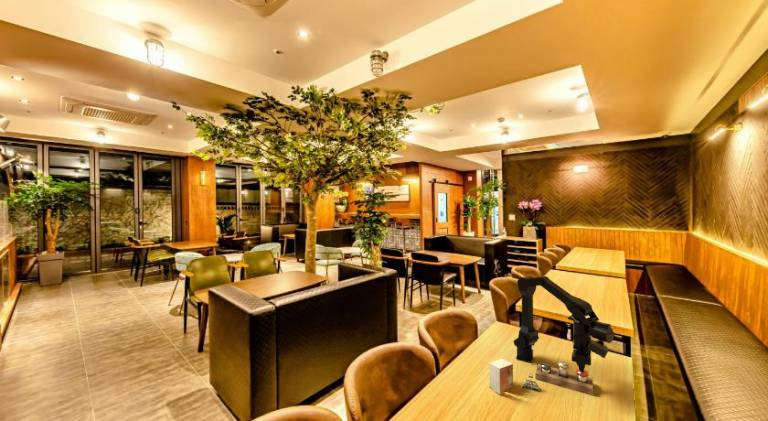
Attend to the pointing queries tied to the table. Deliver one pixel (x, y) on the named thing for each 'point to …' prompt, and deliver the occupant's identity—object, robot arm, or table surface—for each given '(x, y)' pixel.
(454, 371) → the table surface
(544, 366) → the grey plug
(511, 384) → the small box
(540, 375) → the socket board
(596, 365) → the table surface
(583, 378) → the red plug
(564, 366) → the cream plug
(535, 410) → the table surface
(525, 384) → the house of cards
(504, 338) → the table surface
